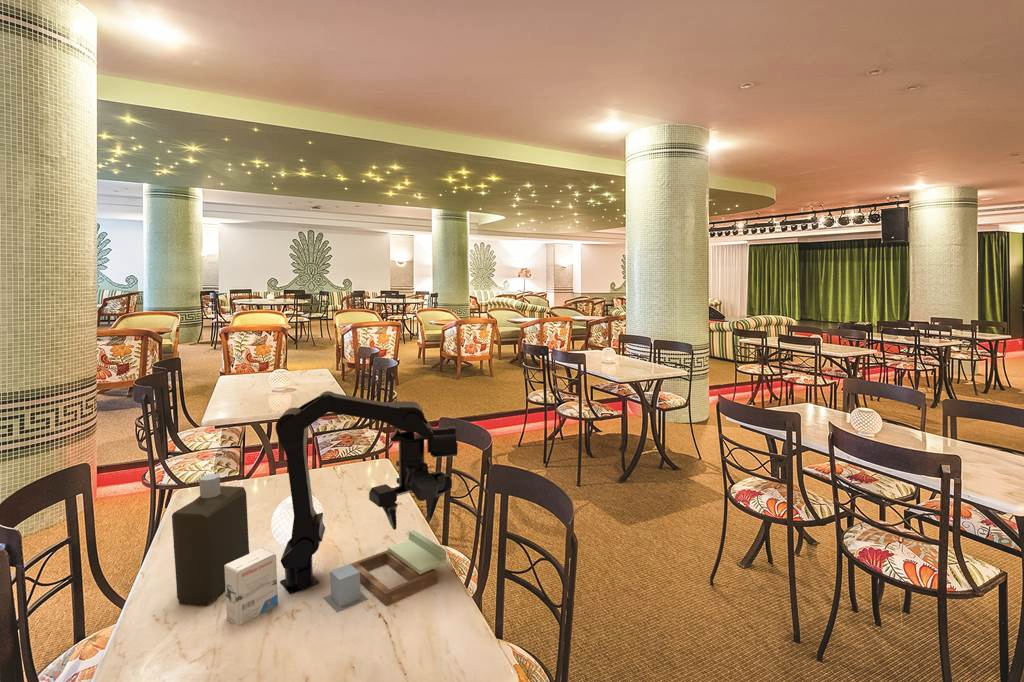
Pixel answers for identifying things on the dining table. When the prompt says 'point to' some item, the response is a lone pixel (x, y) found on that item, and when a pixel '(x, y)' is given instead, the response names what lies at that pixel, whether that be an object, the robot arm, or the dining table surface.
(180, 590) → the bottle
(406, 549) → the cover
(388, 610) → the dining table surface
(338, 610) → the mat
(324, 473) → the dining table surface
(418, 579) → the brown hollow rectangular piece
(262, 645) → the dining table surface
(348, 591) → the block
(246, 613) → the ink box
